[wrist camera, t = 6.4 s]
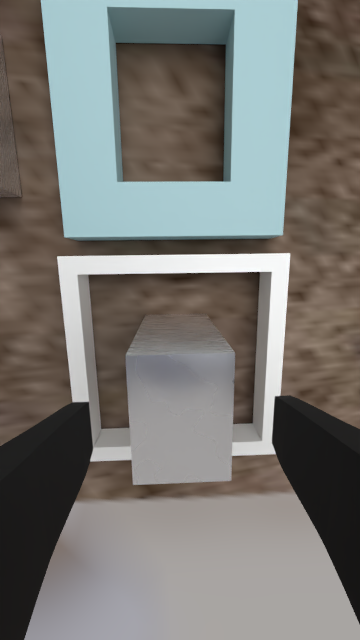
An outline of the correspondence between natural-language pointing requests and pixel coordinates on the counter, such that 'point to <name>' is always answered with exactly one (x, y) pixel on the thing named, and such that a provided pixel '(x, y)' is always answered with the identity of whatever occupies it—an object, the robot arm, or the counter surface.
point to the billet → (180, 400)
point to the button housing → (7, 139)
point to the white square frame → (270, 266)
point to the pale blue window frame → (104, 120)
